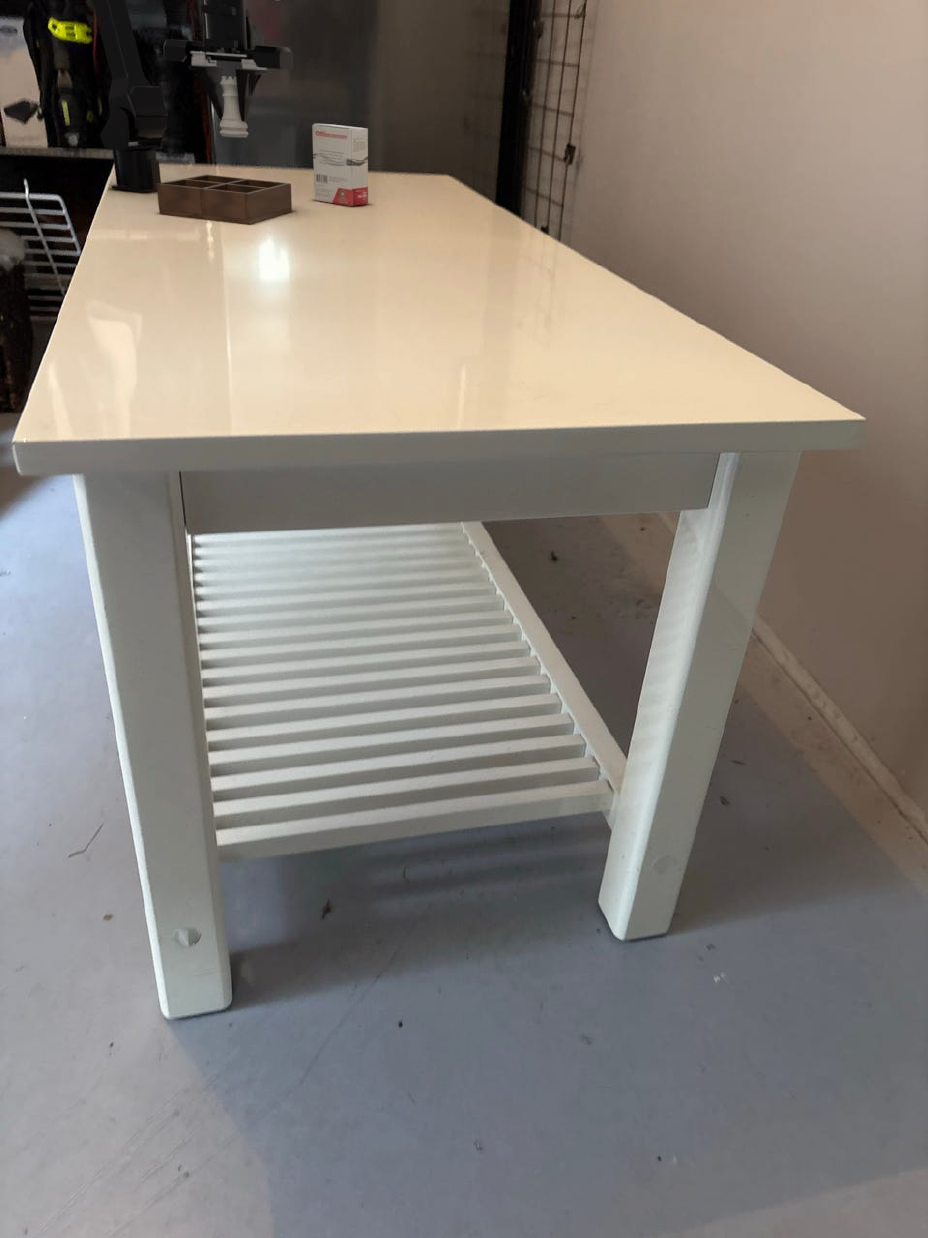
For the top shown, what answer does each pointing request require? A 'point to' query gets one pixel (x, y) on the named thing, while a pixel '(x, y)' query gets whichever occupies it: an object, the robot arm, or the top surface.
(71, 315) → the top surface
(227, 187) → the organizer
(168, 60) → the robot arm
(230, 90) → the rook chess piece
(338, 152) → the ink box
